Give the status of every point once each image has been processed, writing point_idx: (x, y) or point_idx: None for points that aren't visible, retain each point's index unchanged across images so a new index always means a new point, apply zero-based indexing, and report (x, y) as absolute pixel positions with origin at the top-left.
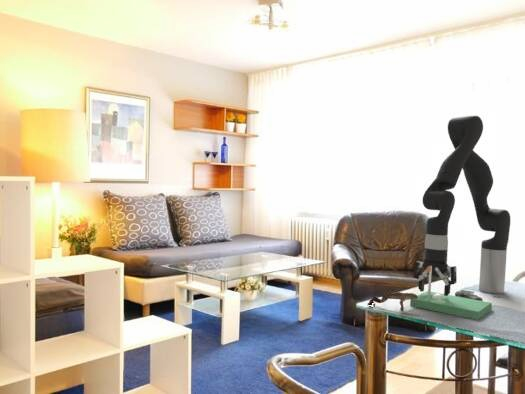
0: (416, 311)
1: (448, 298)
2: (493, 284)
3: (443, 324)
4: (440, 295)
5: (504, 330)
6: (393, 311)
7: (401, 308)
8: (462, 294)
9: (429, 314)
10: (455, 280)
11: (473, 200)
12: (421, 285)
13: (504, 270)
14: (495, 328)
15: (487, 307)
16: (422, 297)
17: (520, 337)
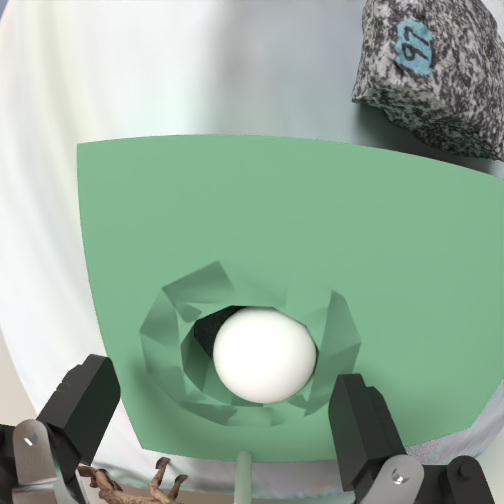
0: (223, 465)
1: (348, 312)
2: None
3: (342, 494)
4: (290, 393)
5: (490, 423)
6: (168, 484)
7: (179, 484)
8: (452, 118)
9: (281, 468)
10: (471, 489)
11: None
12: (100, 435)
13: None
14: (476, 429)
15: None
16: (168, 409)
17: (499, 431)
